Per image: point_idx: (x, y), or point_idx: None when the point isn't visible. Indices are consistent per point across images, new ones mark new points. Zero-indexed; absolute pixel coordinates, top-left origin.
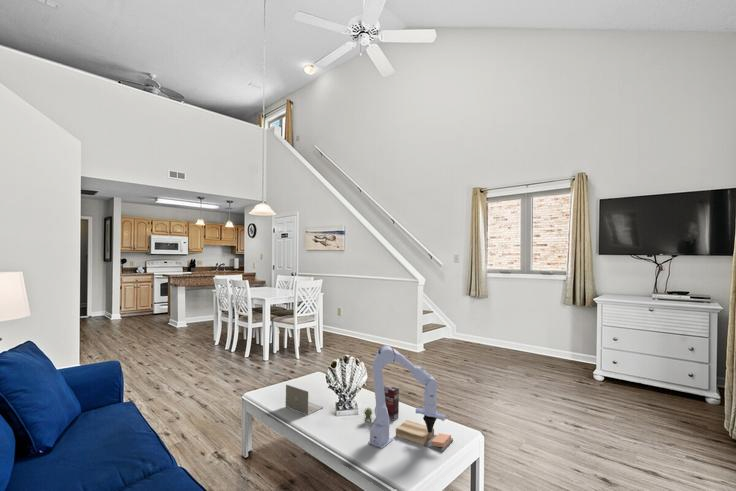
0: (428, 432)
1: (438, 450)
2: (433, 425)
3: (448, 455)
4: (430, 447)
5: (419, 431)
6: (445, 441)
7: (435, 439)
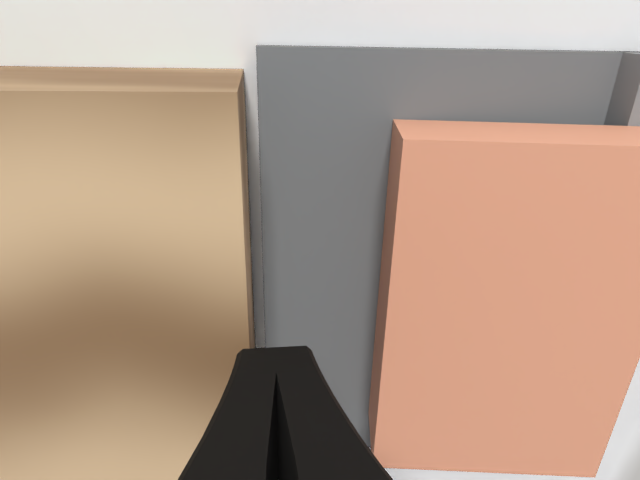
0: (231, 366)
1: None
2: (364, 453)
3: (611, 437)
4: (368, 442)
5: (45, 439)
6: (614, 395)
7: (427, 408)
